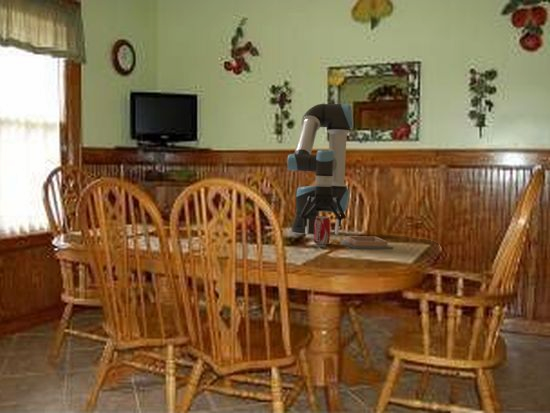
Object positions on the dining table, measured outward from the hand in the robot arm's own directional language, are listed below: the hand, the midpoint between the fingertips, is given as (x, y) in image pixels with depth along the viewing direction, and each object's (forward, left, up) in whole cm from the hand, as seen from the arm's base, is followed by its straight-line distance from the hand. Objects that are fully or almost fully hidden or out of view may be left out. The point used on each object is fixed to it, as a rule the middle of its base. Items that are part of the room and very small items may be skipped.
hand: (321, 234), depth 254 cm
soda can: (0, 0, -5) cm, 5 cm away
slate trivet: (+4, +19, -4) cm, 20 cm away
